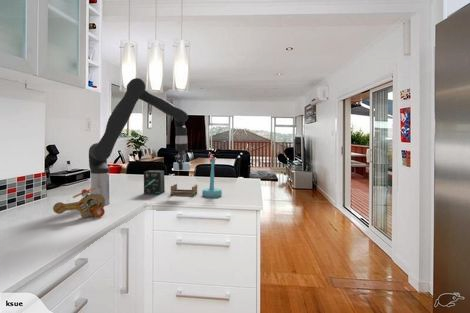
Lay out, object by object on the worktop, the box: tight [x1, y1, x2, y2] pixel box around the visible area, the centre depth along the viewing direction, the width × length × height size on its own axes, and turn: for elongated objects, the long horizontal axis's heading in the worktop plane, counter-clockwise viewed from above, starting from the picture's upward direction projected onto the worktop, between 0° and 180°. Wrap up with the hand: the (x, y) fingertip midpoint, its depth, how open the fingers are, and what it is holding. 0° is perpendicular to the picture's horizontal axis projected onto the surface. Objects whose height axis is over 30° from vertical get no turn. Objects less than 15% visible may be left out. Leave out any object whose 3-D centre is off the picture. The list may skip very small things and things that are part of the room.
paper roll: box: [172, 161, 192, 172], centre depth 183 cm, size 11×5×5 cm, turn 84°
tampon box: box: [143, 170, 166, 195], centre depth 189 cm, size 11×9×15 cm
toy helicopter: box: [52, 187, 106, 219], centre depth 129 cm, size 8×21×14 cm, turn 129°
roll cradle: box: [170, 183, 198, 197], centre depth 187 cm, size 10×15×6 cm, turn 85°
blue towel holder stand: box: [201, 156, 223, 198], centre depth 183 cm, size 12×12×25 cm
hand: (182, 169), depth 184 cm, fingers closed on paper roll, 5 cm apart
